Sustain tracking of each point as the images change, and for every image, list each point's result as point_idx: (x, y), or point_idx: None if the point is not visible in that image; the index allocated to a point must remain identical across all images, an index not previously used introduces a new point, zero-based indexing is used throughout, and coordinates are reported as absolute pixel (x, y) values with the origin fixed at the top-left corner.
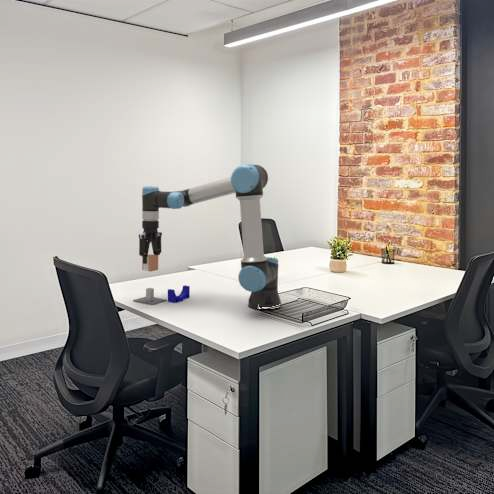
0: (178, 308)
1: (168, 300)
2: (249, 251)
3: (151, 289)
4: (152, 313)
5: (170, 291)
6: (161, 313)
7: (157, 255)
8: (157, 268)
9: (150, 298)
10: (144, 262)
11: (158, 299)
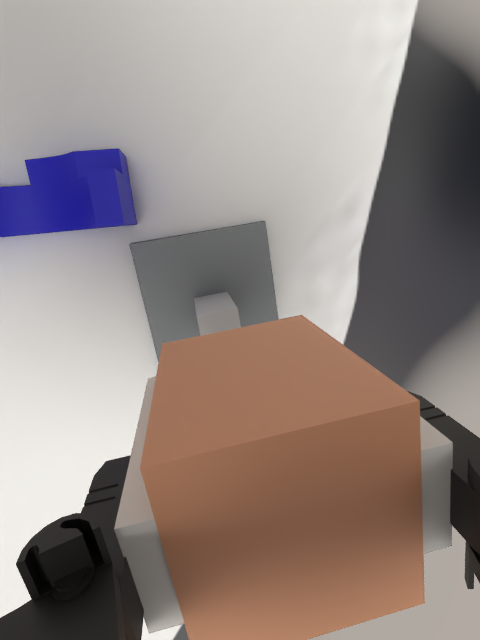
0: (196, 15)
1: (134, 217)
2: None
3: (222, 310)
4: (386, 61)
5: (120, 191)
6: (353, 12)
7: (149, 489)
8: (176, 346)
9: (225, 294)
10: (425, 409)
11: (170, 281)
